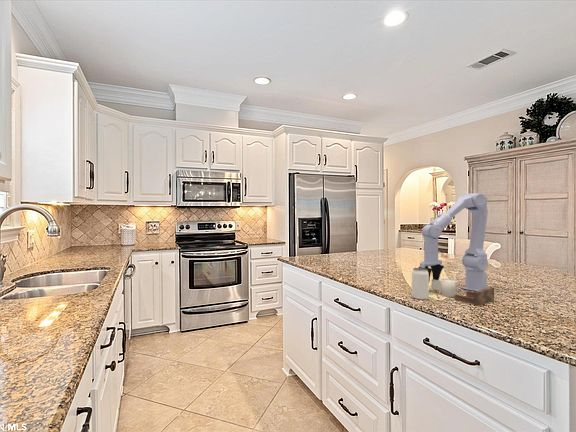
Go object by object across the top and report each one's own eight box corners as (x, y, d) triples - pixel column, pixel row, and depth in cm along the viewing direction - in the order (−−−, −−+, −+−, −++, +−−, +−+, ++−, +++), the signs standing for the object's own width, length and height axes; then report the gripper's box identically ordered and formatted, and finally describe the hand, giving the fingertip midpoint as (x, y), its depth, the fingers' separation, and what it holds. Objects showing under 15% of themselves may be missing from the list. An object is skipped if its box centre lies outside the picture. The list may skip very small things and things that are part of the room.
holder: (469, 295, 141) (469, 283, 141) (494, 300, 133) (494, 287, 133) (452, 300, 132) (452, 288, 132) (477, 305, 125) (477, 292, 125)
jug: (461, 296, 140) (461, 280, 140) (454, 298, 136) (454, 282, 136) (436, 290, 149) (436, 276, 149) (428, 292, 145) (428, 278, 145)
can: (430, 300, 133) (430, 270, 132) (413, 299, 134) (413, 270, 134) (426, 296, 139) (426, 268, 139) (410, 295, 140) (410, 267, 140)
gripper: (430, 254, 140) (430, 285, 140) (448, 251, 148) (448, 281, 148) (415, 252, 145) (415, 283, 146) (433, 249, 154) (433, 278, 154)
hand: (431, 282), depth 147 cm, fingers open, 7 cm apart
